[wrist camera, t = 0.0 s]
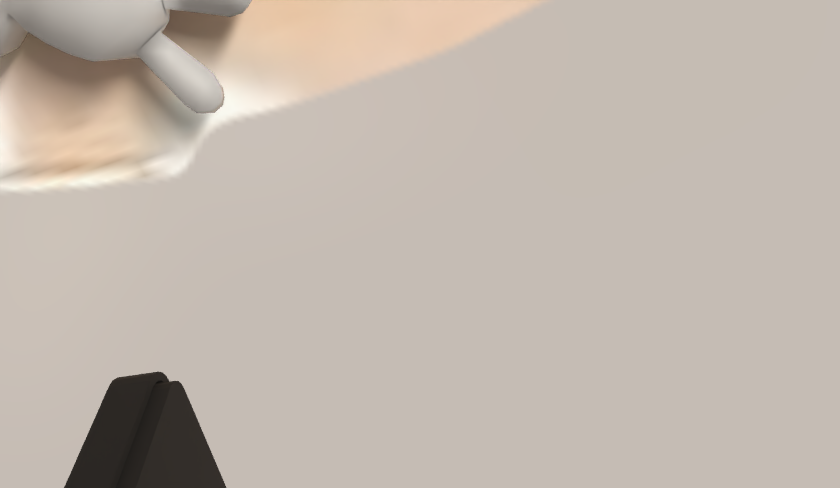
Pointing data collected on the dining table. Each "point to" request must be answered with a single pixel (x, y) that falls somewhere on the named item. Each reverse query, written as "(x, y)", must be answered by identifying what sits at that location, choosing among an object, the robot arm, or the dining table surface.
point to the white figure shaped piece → (121, 37)
